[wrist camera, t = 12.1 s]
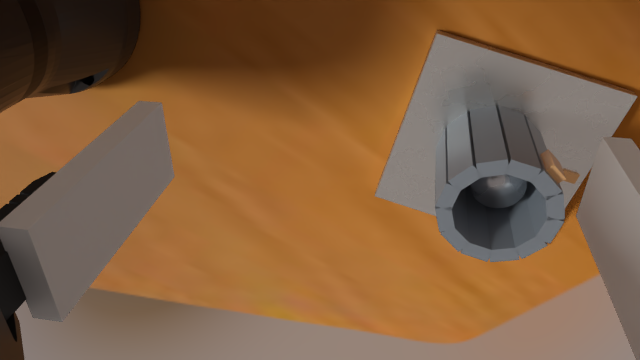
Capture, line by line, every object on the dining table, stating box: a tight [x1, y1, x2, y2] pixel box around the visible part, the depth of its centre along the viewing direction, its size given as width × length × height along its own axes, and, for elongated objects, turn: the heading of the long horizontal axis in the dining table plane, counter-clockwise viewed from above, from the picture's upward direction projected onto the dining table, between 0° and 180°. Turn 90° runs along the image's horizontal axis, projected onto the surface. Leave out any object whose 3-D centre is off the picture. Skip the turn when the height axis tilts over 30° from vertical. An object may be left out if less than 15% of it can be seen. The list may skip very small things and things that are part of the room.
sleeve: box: [435, 105, 566, 262], centre depth 35 cm, size 8×8×8 cm
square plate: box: [375, 30, 638, 216], centre depth 37 cm, size 14×14×6 cm
